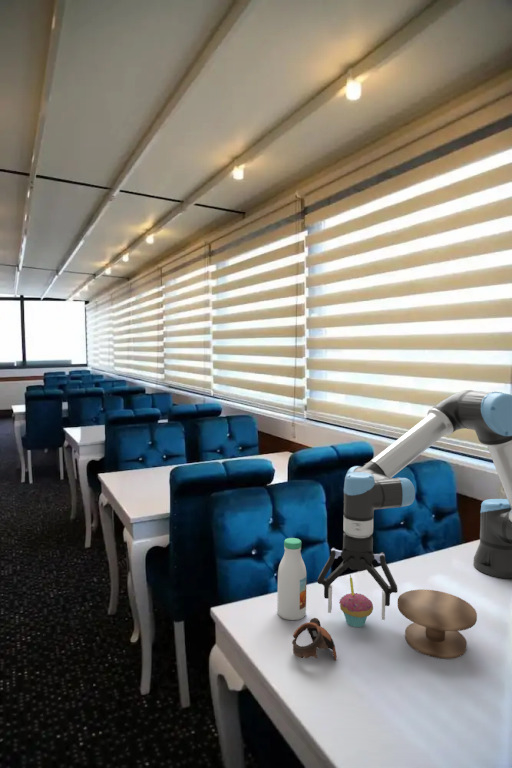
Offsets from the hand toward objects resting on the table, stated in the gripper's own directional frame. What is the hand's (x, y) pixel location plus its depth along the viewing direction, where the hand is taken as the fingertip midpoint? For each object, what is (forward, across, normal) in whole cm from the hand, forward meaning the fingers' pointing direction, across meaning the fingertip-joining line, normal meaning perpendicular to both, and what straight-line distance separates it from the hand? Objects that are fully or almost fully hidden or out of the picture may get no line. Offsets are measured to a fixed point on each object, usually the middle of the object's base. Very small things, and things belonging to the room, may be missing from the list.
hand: (356, 613), depth 125 cm
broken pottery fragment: (+3, -9, -16) cm, 19 cm away
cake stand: (+2, +19, -4) cm, 20 cm away
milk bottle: (+2, -17, 0) cm, 17 cm away
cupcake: (+2, 0, 0) cm, 2 cm away
